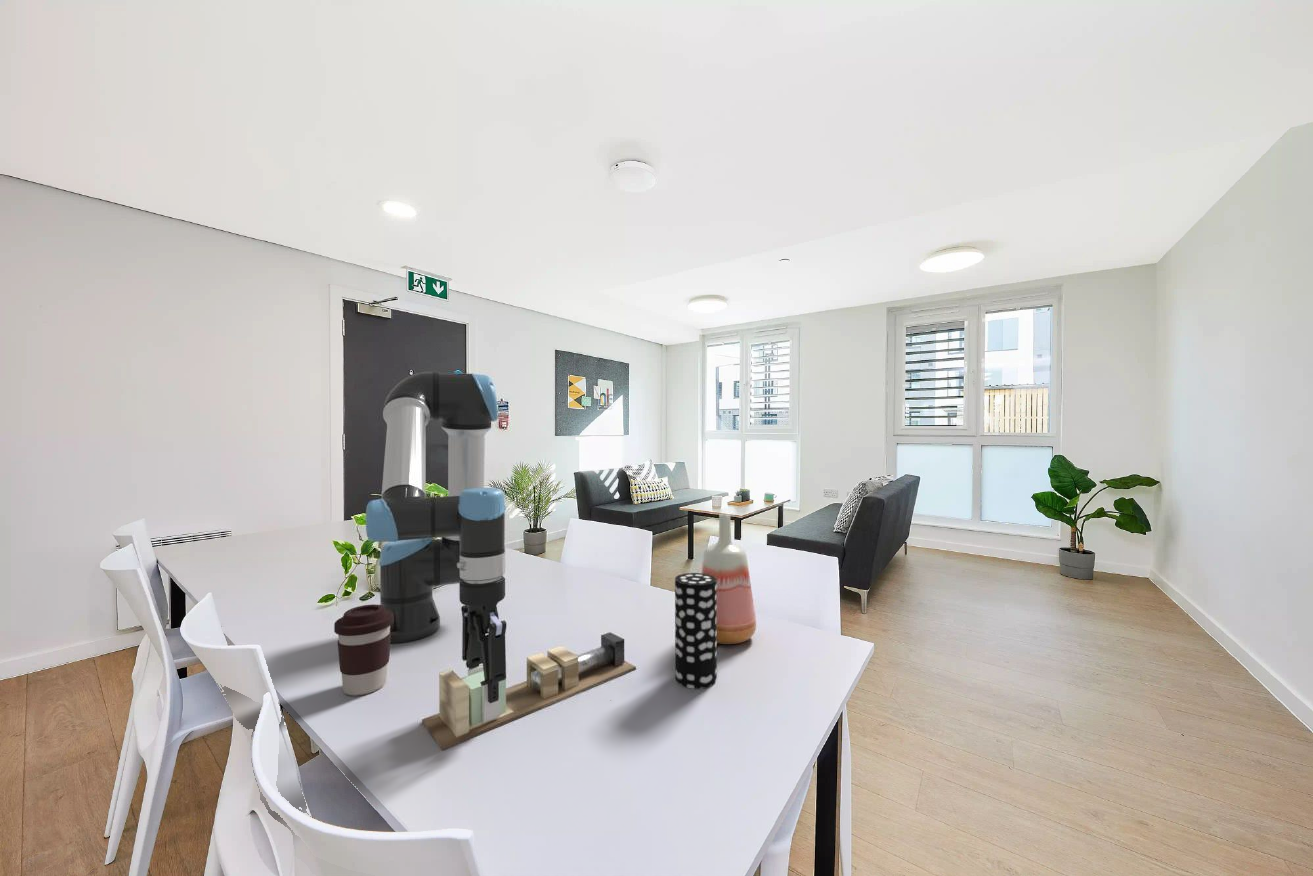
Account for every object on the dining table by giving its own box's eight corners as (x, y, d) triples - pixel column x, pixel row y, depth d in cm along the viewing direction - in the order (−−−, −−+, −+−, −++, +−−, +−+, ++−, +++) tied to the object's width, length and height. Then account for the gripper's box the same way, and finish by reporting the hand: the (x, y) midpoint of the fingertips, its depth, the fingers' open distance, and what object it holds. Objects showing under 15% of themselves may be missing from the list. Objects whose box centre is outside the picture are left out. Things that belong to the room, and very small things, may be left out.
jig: (422, 722, 83) (421, 675, 83) (607, 653, 110) (607, 617, 110) (442, 750, 76) (442, 698, 76) (635, 669, 102) (635, 630, 102)
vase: (687, 644, 114) (687, 517, 114) (705, 622, 128) (705, 508, 128) (749, 654, 109) (749, 521, 109) (761, 630, 122) (760, 511, 122)
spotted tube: (720, 671, 101) (720, 575, 101) (711, 691, 93) (711, 586, 93) (681, 665, 104) (681, 571, 103) (669, 684, 96) (669, 582, 96)
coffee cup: (367, 703, 89) (366, 621, 89) (321, 697, 91) (320, 617, 91) (405, 677, 99) (405, 603, 99) (363, 672, 101) (362, 599, 101)
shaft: (528, 685, 94) (528, 659, 94) (610, 655, 107) (610, 632, 107) (541, 695, 90) (541, 668, 90) (624, 662, 103) (624, 639, 103)
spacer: (460, 712, 85) (460, 678, 85) (493, 700, 89) (493, 667, 89) (471, 725, 81) (471, 689, 81) (505, 711, 85) (505, 677, 85)
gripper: (441, 571, 90) (442, 698, 89) (483, 594, 76) (484, 744, 76) (482, 564, 95) (482, 684, 94) (527, 584, 81) (528, 725, 81)
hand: (483, 711), depth 85 cm, fingers open, 5 cm apart
